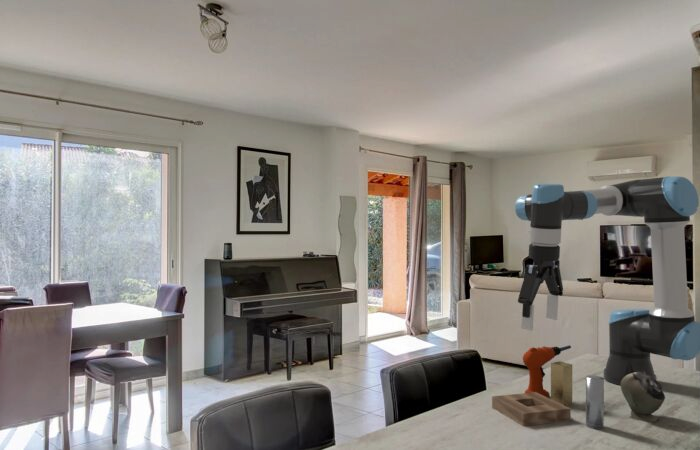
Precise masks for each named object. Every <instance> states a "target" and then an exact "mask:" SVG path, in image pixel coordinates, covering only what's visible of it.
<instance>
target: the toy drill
mask: <svg viewBox="0 0 700 450" xmlns="http://www.w3.org/2000/svg"><path fill="white" fill-rule="evenodd" d="M571 348H572V346H571V345H566V346H562V347H559V346H551V347H549V346H541V347H534V346H533V347H531V348H529V349H528V350H526V352H524V354H523V355H522V362H523V364H524V365H525V367H527V369H528V374H529V383H528V387H527V389H525V391H524V393H532V392H537V393H539V394H541V395H543V396H545V397H547V398H549V399H550V397H551V393H549V391H547V390H546V389H544V384H543V382H544V377H546V372H544V369H543V366H544V365H545V364H547V363H548V362H550V361H551V360H552V359H554V358H555V357H556V356H559V355H560V354H561V352H563V351H566V350H569V349H571Z"/></svg>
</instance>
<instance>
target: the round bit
mask: <svg viewBox="0 0 700 450" xmlns="http://www.w3.org/2000/svg"><path fill="white" fill-rule="evenodd" d="M604 383H605V379H604V377H602V376H600V375H599V376H598V375H586V376H585V426H586V427H587V428H590V429H593V430H603V429H604V428H605V425H604V423H605V422H604V421H605V419H604V416H605V414H604V413H605V412H604V411H605V408H604V407H605V406H604V405H605V401H604V400H605V397H604V396H605V395H604V393H605V390H604V388H605V386H604Z"/></svg>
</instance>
